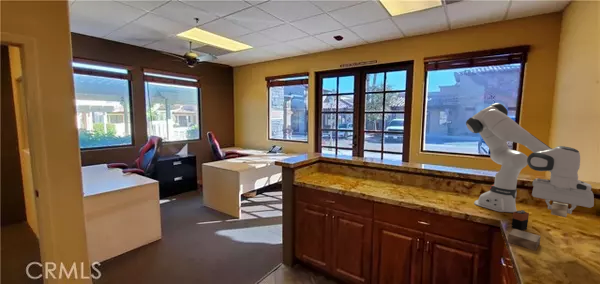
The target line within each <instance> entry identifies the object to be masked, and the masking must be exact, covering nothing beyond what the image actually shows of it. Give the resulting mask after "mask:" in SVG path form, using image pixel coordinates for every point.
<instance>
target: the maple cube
mask: <svg viewBox="0 0 600 284" xmlns="http://www.w3.org/2000/svg"><path fill="white" fill-rule="evenodd" d="M551 205H552V209H550V211H551V212H550V215H554V216H558V217H561V218H567V216H568V213H567V209H569V204H568V203H563V202H558V201H552V204H551Z"/></svg>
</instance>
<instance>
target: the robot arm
mask: <svg viewBox="0 0 600 284" xmlns="http://www.w3.org/2000/svg"><path fill="white" fill-rule="evenodd" d="M508 113H509V111H508V109H507V108H506V106H504V105H503V104H502V103H499V102H496V103H492V104H490V105H489V106H487V107H485V108H483V109H480V111H478V112H477V113H475V114H473V116H471V117H469V118H468V119H466V121H465V125H466V128H467V129H468V130H469V131H470V132H471V133H473V134H479V136H481V138H482V140H483V142H485V144H486V146H487V147H488V150H489V152H490V154H489V155H490V159H491V161H493V162H494V163H496V164H497V165H501V166H500V169H499V170H498V171H497V173H496V174H495V176H494V177H495V178H494V183H493V184H491V185H490V186H489V189H490V190H488V191H486V192H484V193H481V194H480V195H479V197H478V199H476V200H475V201H474V202H473V205H475V206H478V207H483V208H484V209H489V210H492V211H495V212H499V213H504V212H505V213H513V212H516V211H518V210H517V207H516V206H517V205H516V198H517V193H518V192H517V191H518V190H517V183H518V178H519V175H520V173H521V171H522V170H523V169H524V168H526V167H527V166H528V167H529V168H530V169H531V170H534V171H537V172H550V176H549V177H550V178H549V179H546V178H534V179H533V180H532V186H533V188H532V193H531V196H532V197H534V198H537V199H542V200H545V203H546V205H547V209H548V210H551V209H552V204H550V202H551V201H552V202H558V203H564V204H568V205H569V204H570V205H571V207H570V208H568V209H567V214H570V215H572V213H573V210H575V209H576V208H577V206H581V207H585V208H592V207H594V205H595V204H594V203H595V202H594V201H595V200H594V199H595V198H594V197H595V196H594V193H593V191H592V187H593V186H592V184H591V183H588V182H586V181H582V180H579V175H578V171H579V170H580V167H581V152H580V151H579V150H578V149H577V148H573V147H569V146H564V145H558V146H556V147H554V148H552V147H550V146H549V145H548V144H546V143H544V142H543V141H542V140H540V139H539V138H537V137H536V136H535V135H533V134H532V133H530V132H529V131H528V130H526V129H525V128H524V127H522V126H521V125H520V124H518V123H517V122H516V121H515V120H513V118H511V117H510V116H509V115H508ZM508 142H511V143H515V144H516V143H517V144H520V145H522V146H524V147H525V148H527V149H528V150H529V151H531V153H530V154H529V155H526V154H525V153H524V152H521V151H519V150H515V149H512V148H510V147H509V146H508Z"/></svg>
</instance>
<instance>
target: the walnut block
mask: <svg viewBox="0 0 600 284" xmlns="http://www.w3.org/2000/svg"><path fill="white" fill-rule="evenodd" d="M540 242H541V235H540V234H539V235H538V234H535V233H532V232H528V231H525V230H522V231H521V230H518V229H513V228H512V230H510V232H509V233H508V236H507V243H510V244H513V245H516V246H519V247H523V248H526V249H529V250H532V251H535V252H536V251H537V249H538V248H539V246H540V244H541V243H540Z"/></svg>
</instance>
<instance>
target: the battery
mask: <svg viewBox="0 0 600 284" xmlns="http://www.w3.org/2000/svg"><path fill="white" fill-rule="evenodd" d="M529 216H530V213H529V212H527V211H526V210H524V209H521V210H517V211H516V212H512V219H511V220H512V221H511V229H512V230H513V229H518V230H521V231H525V230H527V229H528V225H529V224H528V222H529Z"/></svg>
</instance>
